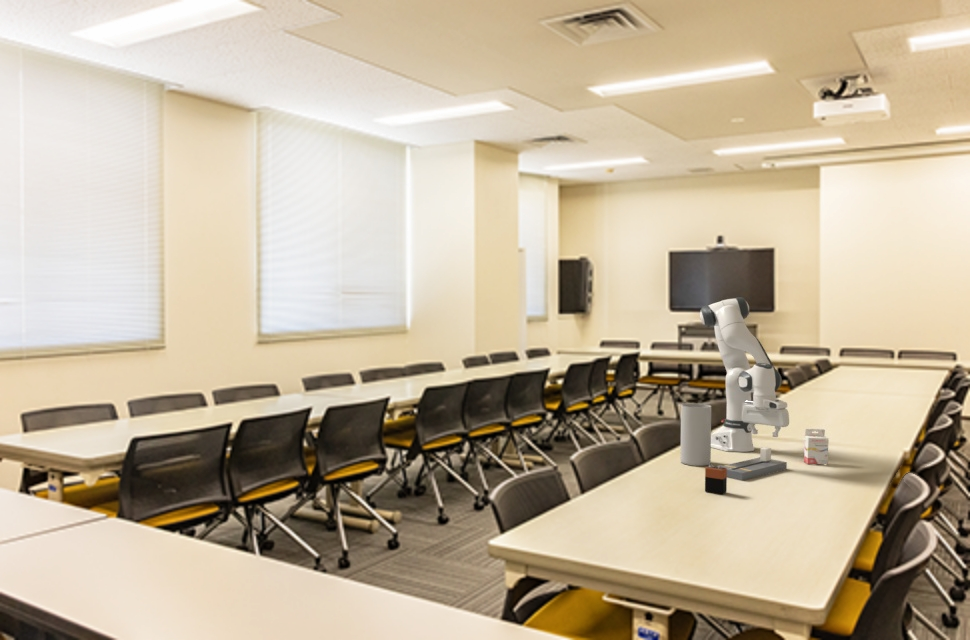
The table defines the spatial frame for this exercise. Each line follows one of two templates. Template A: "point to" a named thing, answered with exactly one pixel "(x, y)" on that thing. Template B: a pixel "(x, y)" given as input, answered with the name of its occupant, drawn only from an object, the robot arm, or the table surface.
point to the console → (753, 468)
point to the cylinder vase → (695, 434)
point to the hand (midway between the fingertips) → (765, 435)
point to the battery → (715, 479)
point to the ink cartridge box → (816, 447)
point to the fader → (765, 454)
